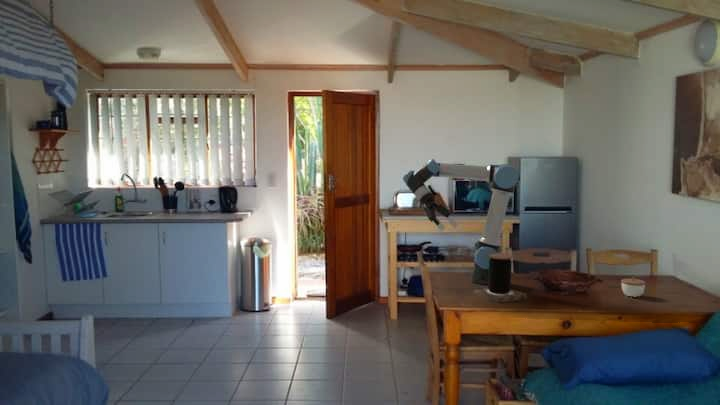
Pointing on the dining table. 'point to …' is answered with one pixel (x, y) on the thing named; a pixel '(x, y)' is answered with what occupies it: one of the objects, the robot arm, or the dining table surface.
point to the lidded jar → (633, 287)
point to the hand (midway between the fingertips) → (449, 228)
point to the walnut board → (500, 295)
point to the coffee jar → (499, 273)
